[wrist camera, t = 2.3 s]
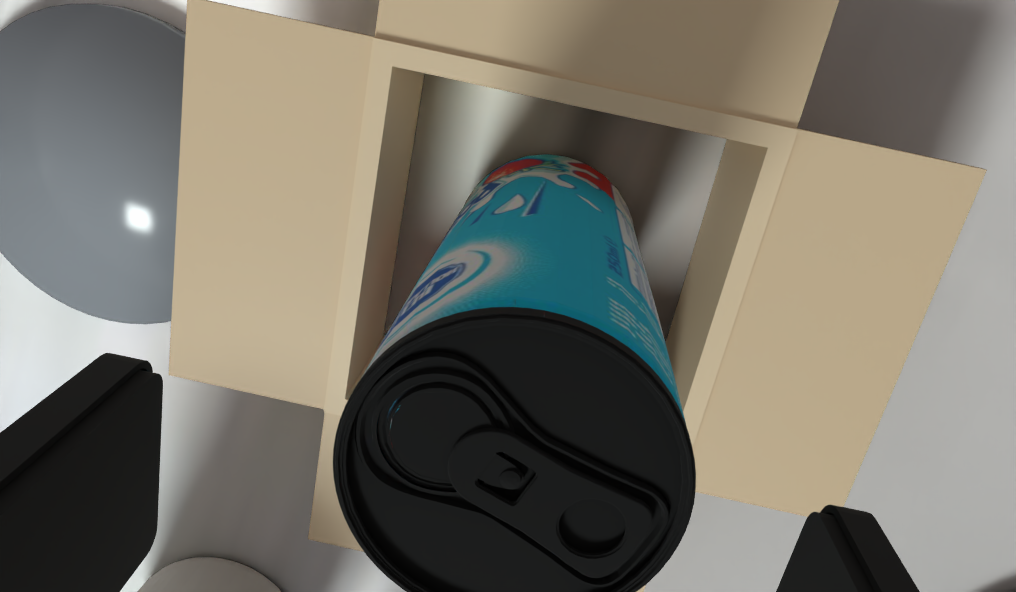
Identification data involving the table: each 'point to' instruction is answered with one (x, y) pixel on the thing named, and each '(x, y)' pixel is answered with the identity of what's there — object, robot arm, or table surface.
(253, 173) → the carton
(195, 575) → the coffee cup
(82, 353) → the table surface
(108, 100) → the coaster
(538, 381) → the beverage can
